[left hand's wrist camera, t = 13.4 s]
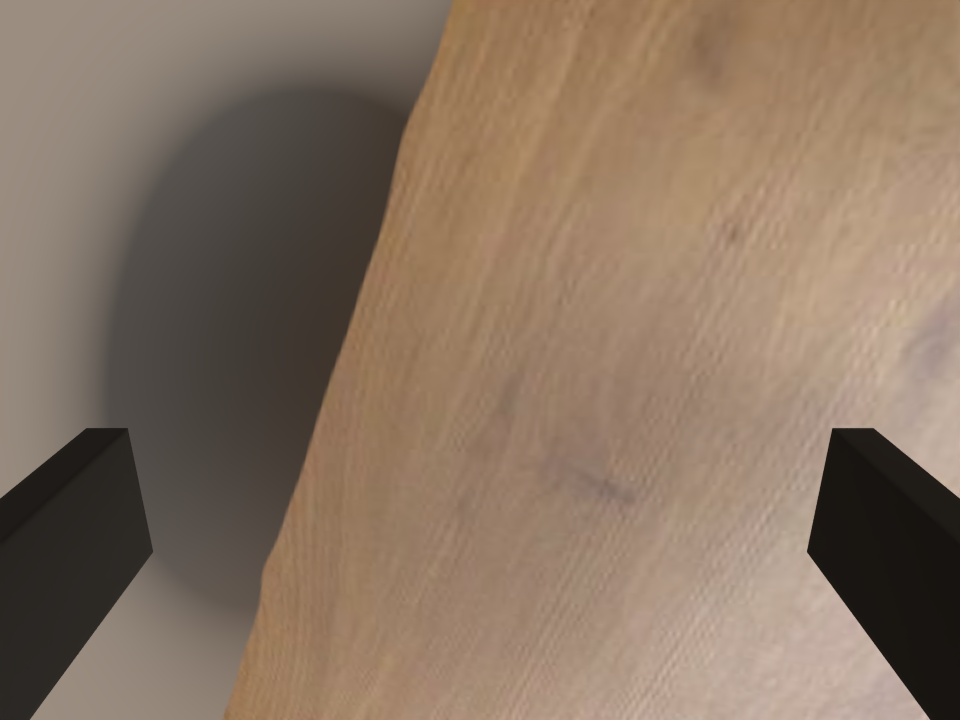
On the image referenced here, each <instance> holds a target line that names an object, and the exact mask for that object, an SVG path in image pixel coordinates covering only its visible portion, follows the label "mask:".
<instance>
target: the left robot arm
mask: <svg viewBox="0 0 960 720" xmlns="http://www.w3.org/2000/svg"><path fill="white" fill-rule="evenodd" d="M152 553H153V549H152V544H151V539H150V534H149V530H148V525H147V520H146V515H145V510H144V506H143V501H142V496H141V491H140V486H139V481H138V476H137V471H136V467H135V462H134V457H133V452H132V447H131V442H130V437H129V433H128V428H86V429H85V430H84V431H83V432H81V433H80V434H79V435H78V436H76V437H75V438H74V439H73V440H71V441H70V442H69V443H68V444H67V445H65V446H64V447H63V448H62V449H60V450H59V451H58V452H57V453H56V454H54V455H53V456H52V457H51V458H50V459H48V460H47V461H46V462H45V463H43V464H42V465H41V466H40V467H38V468H37V469H36V470H35V471H34V472H32V473H31V474H30V475H29V476H27V477H26V478H25V479H24V480H23V481H21V482H20V483H19V484H18V485H16V486H15V487H14V488H13V489H11V490H10V491H9V492H8V493H7V494H5V495H4V496H3V497H2V498H0V720H30V719H31V717H32V716H33V715H34V713H35V712H36V710H37V709H38V708H39V706H40V705H41V704H42V702H43V701H44V700H45V698H46V697H47V695H48V694H49V693H50V691H51V690H52V689H53V687H54V686H55V685H56V683H57V682H58V680H59V679H60V678H61V676H62V675H63V674H64V672H65V671H66V670H67V668H68V667H69V666H70V664H71V663H72V661H73V660H74V659H75V657H76V656H77V655H78V653H79V652H80V651H81V649H82V648H83V647H84V645H85V644H86V642H87V641H88V640H89V638H90V637H91V636H92V634H93V633H94V631H95V630H96V629H97V627H98V626H99V625H100V623H101V622H102V621H103V619H104V618H105V616H106V615H107V614H108V612H109V611H110V610H111V608H112V607H113V606H114V604H115V603H116V602H117V600H118V599H119V597H120V596H121V595H122V593H123V592H124V591H125V589H126V588H127V587H128V585H129V584H130V583H131V581H132V580H133V578H134V577H135V576H136V574H137V573H138V572H139V570H140V569H141V568H142V566H143V565H144V563H145V562H146V561H147V559H148V558H149V557H150V555H151V554H152ZM807 553H808V554H809V555H810V557H811V558H812V559H813V561H814V562H815V564H816V565H817V566H818V568H819V569H820V570H821V572H822V573H823V574H824V576H825V577H826V578H827V580H828V581H829V583H830V584H831V585H832V587H833V588H834V589H835V591H836V592H837V593H838V595H839V596H840V598H841V599H842V600H843V602H844V603H845V604H846V606H847V607H848V608H849V610H850V611H851V612H852V614H853V615H854V617H855V618H856V619H857V621H858V622H859V623H860V625H861V626H862V627H863V629H864V630H865V632H866V633H867V634H868V636H869V637H870V638H871V640H872V641H873V642H874V644H875V645H876V647H877V648H878V649H879V651H880V652H881V653H882V655H883V656H884V657H885V659H886V660H887V661H888V663H889V664H890V666H891V667H892V668H893V670H894V671H895V672H896V674H897V675H898V676H899V678H900V679H901V681H902V682H903V683H904V685H905V686H906V687H907V689H908V690H909V691H910V693H911V694H912V695H913V697H914V698H915V700H916V701H917V702H918V704H919V705H920V706H921V708H922V709H923V710H924V712H925V713H926V715H927V716H928V717H929V719H930V720H960V498H958V497H957V496H956V495H955V494H953V493H952V492H951V491H950V490H949V489H947V488H946V487H945V486H944V485H942V484H941V483H940V482H939V481H938V480H936V479H935V478H934V477H933V476H931V475H930V474H929V473H928V472H926V471H925V470H924V469H923V468H922V467H920V466H919V465H918V464H917V463H915V462H914V461H913V460H912V459H911V458H909V457H908V456H907V455H906V454H904V453H903V452H902V451H901V450H900V449H898V448H897V447H896V446H895V445H893V444H892V443H891V442H890V441H889V440H887V439H886V438H885V437H884V436H882V435H881V434H880V433H879V432H877V431H876V430H875V429H874V428H832V433H831V437H830V442H829V447H828V452H827V457H826V462H825V467H824V471H823V476H822V481H821V486H820V491H819V496H818V500H817V505H816V510H815V515H814V520H813V525H812V530H811V534H810V539H809V544H808V549H807Z"/></svg>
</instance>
